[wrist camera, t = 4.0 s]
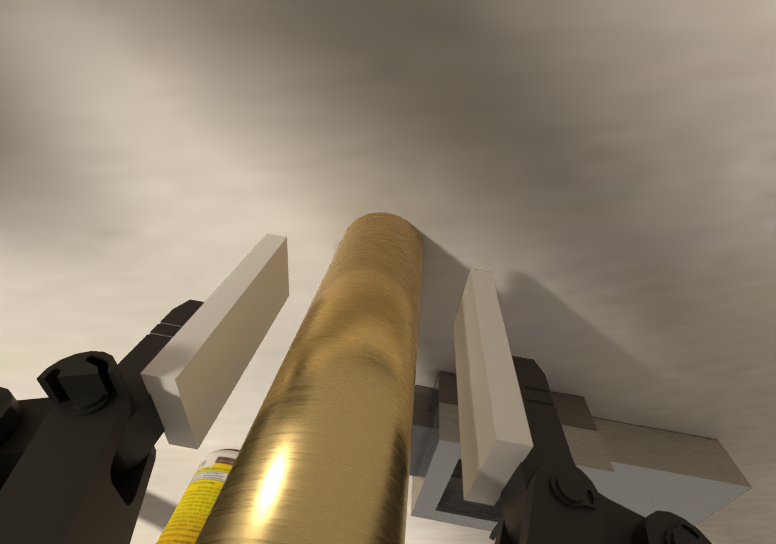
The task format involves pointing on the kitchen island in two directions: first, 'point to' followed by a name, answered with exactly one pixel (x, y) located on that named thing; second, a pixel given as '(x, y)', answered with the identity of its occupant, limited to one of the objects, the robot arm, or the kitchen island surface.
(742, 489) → the grey plate with loop
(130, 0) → the kitchen island surface
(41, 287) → the kitchen island surface
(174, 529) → the supplement bottle
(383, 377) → the pin
